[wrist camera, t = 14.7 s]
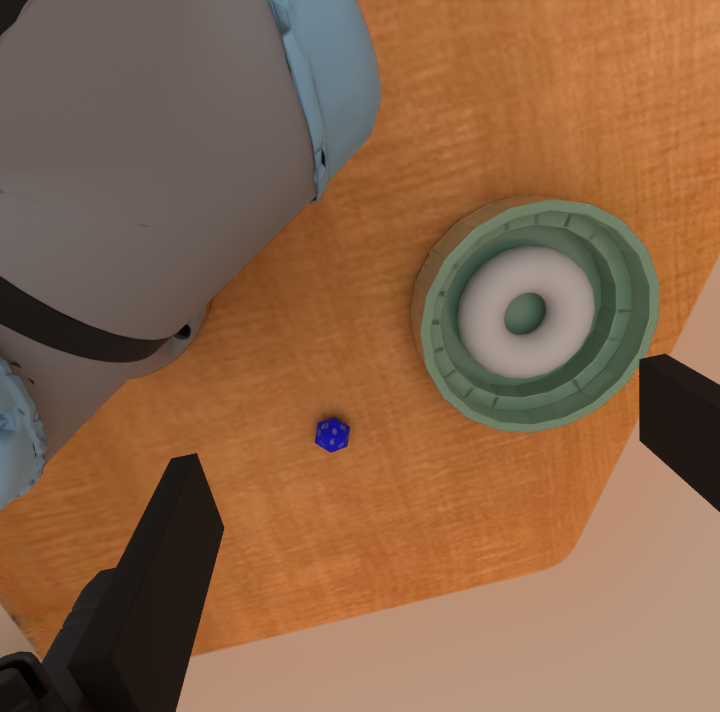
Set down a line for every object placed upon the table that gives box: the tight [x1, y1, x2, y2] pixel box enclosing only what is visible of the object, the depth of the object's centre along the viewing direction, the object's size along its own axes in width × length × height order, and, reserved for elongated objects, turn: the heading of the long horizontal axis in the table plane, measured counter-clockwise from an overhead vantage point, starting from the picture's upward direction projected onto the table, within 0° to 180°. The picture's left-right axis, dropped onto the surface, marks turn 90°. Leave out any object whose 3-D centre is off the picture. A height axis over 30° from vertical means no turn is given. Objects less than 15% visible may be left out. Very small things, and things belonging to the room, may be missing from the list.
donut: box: [457, 245, 595, 379], centre depth 38 cm, size 10×4×10 cm
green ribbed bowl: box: [410, 195, 659, 433], centre depth 38 cm, size 16×16×5 cm
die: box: [315, 418, 350, 452], centre depth 42 cm, size 3×3×3 cm
